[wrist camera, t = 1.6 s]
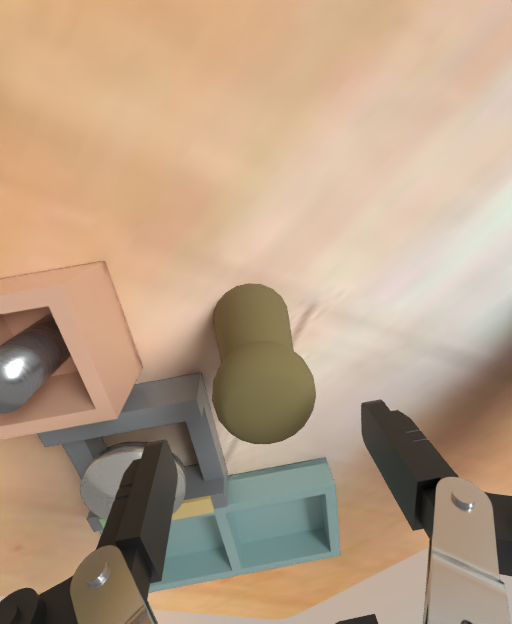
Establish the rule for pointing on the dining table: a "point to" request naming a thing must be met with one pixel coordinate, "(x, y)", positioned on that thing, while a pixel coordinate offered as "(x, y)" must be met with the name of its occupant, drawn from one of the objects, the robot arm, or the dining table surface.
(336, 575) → the dining table surface
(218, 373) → the olive gourd
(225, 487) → the checker cradle
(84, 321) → the cup
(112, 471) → the silver domed disc
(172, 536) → the teal divided tray
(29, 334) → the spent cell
